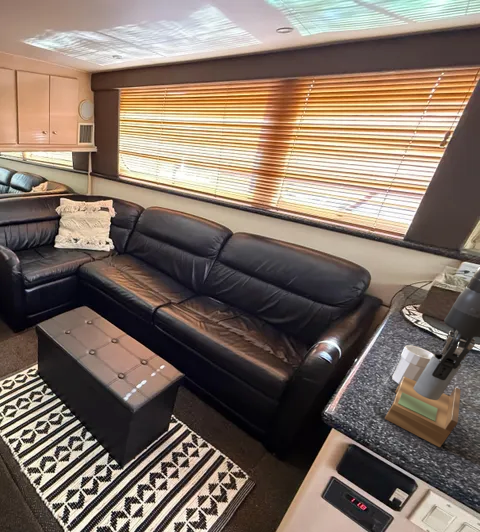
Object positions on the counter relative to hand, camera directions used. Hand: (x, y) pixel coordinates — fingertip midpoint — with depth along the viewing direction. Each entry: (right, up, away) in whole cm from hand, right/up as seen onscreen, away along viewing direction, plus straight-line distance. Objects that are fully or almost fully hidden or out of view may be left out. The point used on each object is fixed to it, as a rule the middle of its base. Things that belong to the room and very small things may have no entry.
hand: (439, 373), depth 76 cm
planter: (-1, -6, +2) cm, 7 cm away
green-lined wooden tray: (+3, -14, +8) cm, 16 cm away
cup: (+12, -10, +21) cm, 26 cm away
